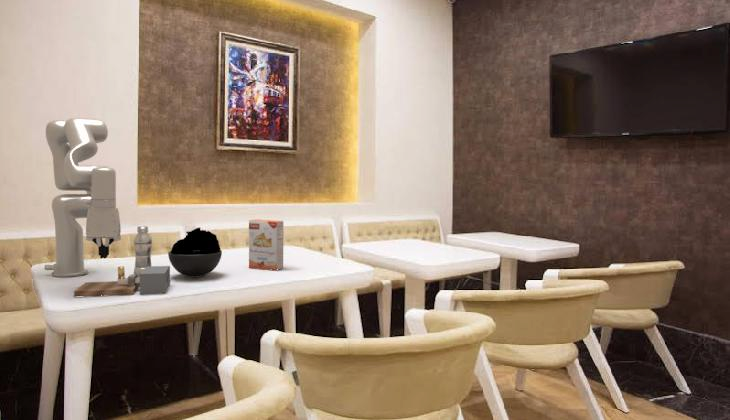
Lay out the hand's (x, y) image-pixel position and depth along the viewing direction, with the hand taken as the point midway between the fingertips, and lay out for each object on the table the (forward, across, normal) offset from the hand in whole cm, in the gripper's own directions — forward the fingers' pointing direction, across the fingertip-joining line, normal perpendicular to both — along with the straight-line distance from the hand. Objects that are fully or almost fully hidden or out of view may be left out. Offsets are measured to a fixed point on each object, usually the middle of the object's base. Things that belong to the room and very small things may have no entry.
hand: (103, 257), depth 181 cm
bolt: (+9, +11, -1) cm, 14 cm away
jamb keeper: (+11, +17, -1) cm, 20 cm away
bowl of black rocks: (+12, +29, +20) cm, 37 cm away
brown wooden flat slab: (+12, +2, -2) cm, 12 cm away
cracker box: (+12, +57, +32) cm, 67 cm away
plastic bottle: (+12, +10, +18) cm, 24 cm away
